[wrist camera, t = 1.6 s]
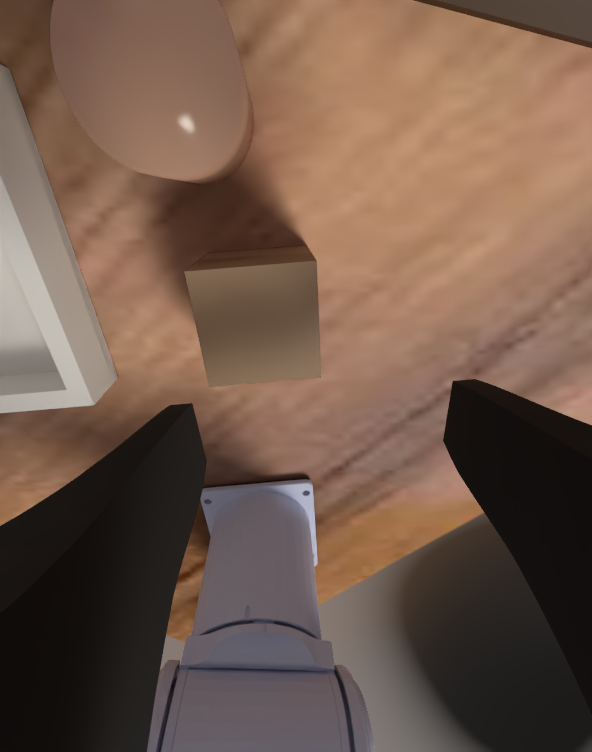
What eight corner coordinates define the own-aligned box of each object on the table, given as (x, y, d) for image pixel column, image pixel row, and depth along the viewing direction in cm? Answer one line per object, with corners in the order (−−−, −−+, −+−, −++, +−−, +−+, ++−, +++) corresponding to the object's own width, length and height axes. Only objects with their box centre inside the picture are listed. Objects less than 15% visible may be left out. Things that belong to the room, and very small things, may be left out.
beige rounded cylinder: (260, 179, 16) (251, 170, 11) (152, 188, 16) (88, 182, 10) (245, 35, 14) (224, -71, 8) (118, 44, 14) (15, -57, 8)
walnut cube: (311, 336, 20) (321, 377, 15) (224, 344, 20) (209, 387, 15) (306, 244, 17) (316, 260, 13) (208, 252, 17) (184, 271, 13)
